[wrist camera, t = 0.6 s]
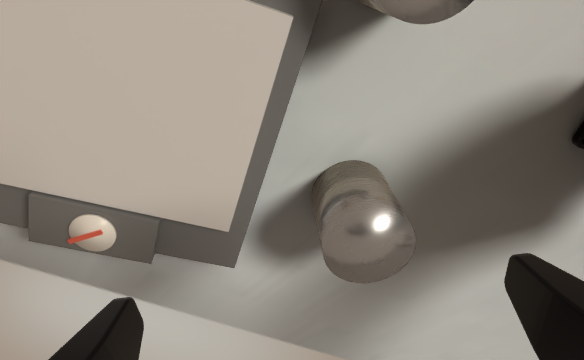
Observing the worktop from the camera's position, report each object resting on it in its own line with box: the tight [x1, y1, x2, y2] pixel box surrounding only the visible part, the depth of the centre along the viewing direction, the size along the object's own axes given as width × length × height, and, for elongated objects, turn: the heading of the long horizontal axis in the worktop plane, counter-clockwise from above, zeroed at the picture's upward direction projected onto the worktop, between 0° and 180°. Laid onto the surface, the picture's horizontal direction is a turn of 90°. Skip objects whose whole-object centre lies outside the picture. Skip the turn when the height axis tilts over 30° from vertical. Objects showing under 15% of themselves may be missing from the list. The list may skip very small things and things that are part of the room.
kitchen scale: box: [0, 0, 322, 268], centre depth 18 cm, size 15×15×3 cm
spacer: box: [312, 160, 416, 283], centre depth 21 cm, size 4×4×5 cm
